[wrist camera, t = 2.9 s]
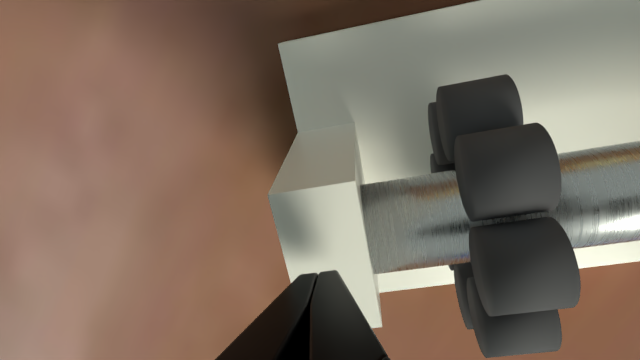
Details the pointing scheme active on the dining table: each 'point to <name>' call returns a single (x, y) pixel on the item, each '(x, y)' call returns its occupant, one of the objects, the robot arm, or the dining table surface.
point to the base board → (412, 115)
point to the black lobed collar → (505, 201)
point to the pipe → (454, 225)
